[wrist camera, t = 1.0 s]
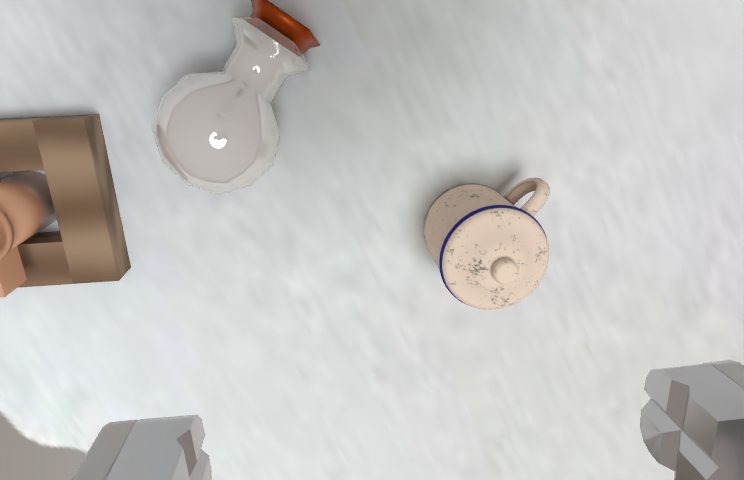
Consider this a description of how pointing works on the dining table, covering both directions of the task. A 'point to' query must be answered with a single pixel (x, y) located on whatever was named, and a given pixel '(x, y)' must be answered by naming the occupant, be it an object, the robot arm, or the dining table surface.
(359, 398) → the dining table surface
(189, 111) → the potion bottle
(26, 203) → the copper mug
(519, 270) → the teacup with lid
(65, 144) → the holder
